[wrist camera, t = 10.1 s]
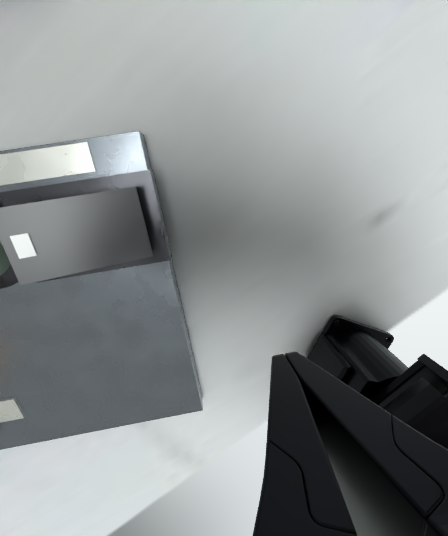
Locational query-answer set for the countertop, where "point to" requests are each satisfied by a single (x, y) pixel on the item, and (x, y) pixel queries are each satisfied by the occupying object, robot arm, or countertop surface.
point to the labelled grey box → (73, 234)
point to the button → (3, 260)
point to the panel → (91, 310)
